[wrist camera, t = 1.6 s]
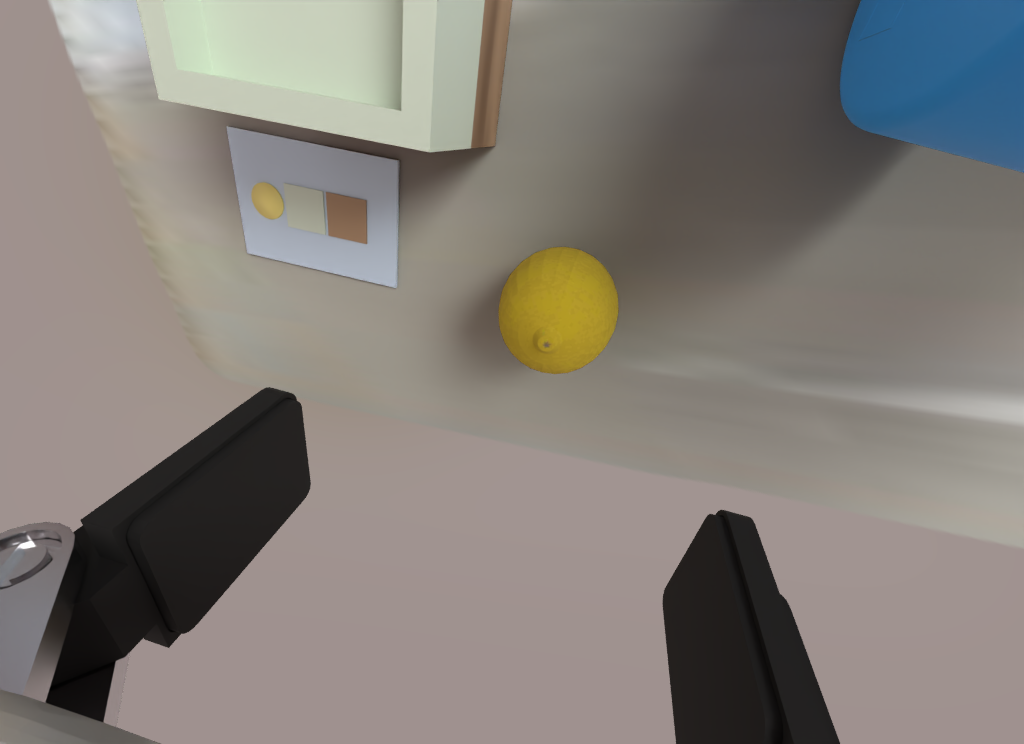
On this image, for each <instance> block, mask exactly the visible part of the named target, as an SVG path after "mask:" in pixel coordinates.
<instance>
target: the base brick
mask: <svg viewBox="0 0 1024 744" xmlns="http://www.w3.org/2000/svg"><path fill="white" fill-rule="evenodd" d="M511 7H512V0H485V3H484V14H483V24H482V35H481V46H480V56H479V67H478V78H477V88H476V99H475V110H474V120H473V131H472V142H471V148H480V147H491V146H495V141H496V133H497V124H498V116H499V108H500V99H501V91H502V82H503V74H504V66H505V57H506V49H507V41H508V32H509V24H510V16H511Z"/></svg>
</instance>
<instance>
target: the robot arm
mask: <svg viewBox="0 0 1024 744" xmlns="http://www.w3.org/2000/svg"><path fill="white" fill-rule="evenodd" d="M310 484H311V483H310V474H309V466H308V457H307V449H306V440H305V431H304V423H303V414H302V406H301V404H300V403H299V402H298V401H297V399H296V397H295V395H294V394H292V393H289V392H285V391H281V390H278V389H274V388H270V387H269V388H265V389H263V390H261V391H260V392H258V393H257V394H255V395H254V396H253V397H251V398H250V399H249V400H247V401H246V402H244V403H243V404H241V405H240V406H239V407H237V408H236V409H235V410H233V411H232V412H230V413H229V414H228V415H226V416H225V417H224V418H222V419H221V420H219V421H218V422H216V423H215V424H214V425H212V426H211V427H210V428H208V429H207V430H205V431H204V432H202V433H201V434H200V435H198V436H197V437H196V438H194V439H193V440H191V441H190V442H189V443H187V444H186V445H184V446H183V447H182V448H180V449H179V450H177V451H176V452H175V453H173V454H172V455H171V456H169V457H168V458H166V459H165V460H163V461H162V462H161V463H159V464H158V465H156V466H155V467H154V468H152V469H151V470H150V471H148V472H147V473H145V474H144V475H143V476H141V477H140V478H139V479H137V480H136V481H134V482H133V483H131V484H130V485H129V486H127V487H126V488H124V489H123V490H122V491H120V492H119V493H117V494H116V495H115V496H113V497H112V498H111V499H109V500H108V501H106V502H105V503H104V504H102V505H101V506H99V507H98V508H97V509H95V510H94V511H93V512H91V513H90V514H88V515H87V516H85V517H84V518H83V519H81V522H82V524H83V526H82V527H80V528H79V529H77V530H76V531H75V532H72V530H71V529H70V528H69V527H67V526H65V525H63V524H60V523H50V522H43V523H34V524H28V525H24V526H21V527H17V528H14V529H10V530H7V531H5V532H3V533H1V534H0V744H160V743H157V742H155V741H152V740H149V739H146V738H144V737H141V736H138V735H136V734H133V733H130V732H128V731H125V730H122V729H119V728H117V727H116V725H117V720H118V714H119V709H120V704H121V699H122V693H123V688H124V683H125V677H126V672H127V666H128V661H129V656H130V651H131V650H132V649H133V648H134V647H135V646H136V645H137V644H138V643H139V642H140V641H141V640H142V639H143V638H144V639H145V640H148V641H151V642H154V643H157V644H160V645H162V646H165V647H168V648H169V647H170V646H171V645H172V643H173V642H174V641H175V640H176V639H177V638H178V637H179V636H180V634H181V633H182V634H184V633H187V632H189V631H190V630H191V629H193V628H194V627H195V626H196V625H197V624H198V623H199V621H200V620H201V619H202V618H203V616H205V614H206V613H207V612H208V611H209V610H210V609H211V607H212V606H213V605H214V604H215V603H216V602H217V600H218V599H219V598H220V597H221V596H222V595H223V593H224V592H225V591H226V590H227V589H228V588H229V587H230V585H231V584H232V583H233V582H234V581H235V579H236V578H237V577H238V576H239V575H240V574H241V573H242V571H243V570H244V569H245V568H246V567H247V566H248V564H249V563H250V562H251V561H252V560H253V559H254V557H255V556H256V555H257V554H258V552H260V550H261V549H262V548H263V547H264V546H265V544H266V543H267V542H268V541H269V540H270V539H271V538H272V536H273V535H274V534H275V533H276V532H277V531H278V529H279V528H280V527H281V526H282V525H283V524H284V522H285V521H286V520H287V519H288V518H289V517H290V515H291V514H292V513H293V512H294V511H295V510H296V508H297V507H298V506H299V505H300V504H301V502H302V501H303V500H304V499H305V498H306V496H307V494H308V492H309V490H310ZM663 613H664V624H665V634H666V644H667V654H668V665H669V674H670V685H671V694H672V705H673V716H674V726H675V736H676V744H840V742H839V739H838V737H837V734H836V731H835V729H834V726H833V723H832V720H831V718H830V715H829V712H828V709H827V707H826V704H825V701H824V698H823V696H822V693H821V691H820V688H819V685H818V682H817V679H816V677H815V674H814V671H813V668H812V666H811V663H810V660H809V658H808V655H807V652H806V649H805V647H804V644H803V641H802V639H801V636H800V633H799V630H798V627H797V625H796V622H795V619H794V617H793V614H792V611H791V609H790V607H789V605H788V603H787V601H786V599H785V598H784V597H783V596H782V595H781V594H780V593H779V591H778V588H777V585H776V582H775V579H774V577H773V574H772V571H771V568H770V566H769V562H768V560H767V557H766V554H765V551H764V549H763V546H762V543H761V540H760V537H759V534H758V531H757V529H756V526H755V523H754V522H753V520H752V519H751V518H750V517H747V516H743V515H739V514H736V513H732V512H729V511H724V510H720V511H718V512H717V513H716V515H713V514H709V515H708V516H707V517H706V519H705V520H704V522H703V524H702V525H701V527H700V529H699V531H698V532H697V534H696V536H695V538H694V539H693V541H692V543H691V544H690V546H689V548H688V550H687V551H686V553H685V555H684V557H683V558H682V560H681V562H680V563H679V565H678V567H677V569H676V570H675V572H674V574H673V576H672V577H671V579H670V581H669V583H668V584H667V586H666V588H665V590H664V594H663Z"/></svg>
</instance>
